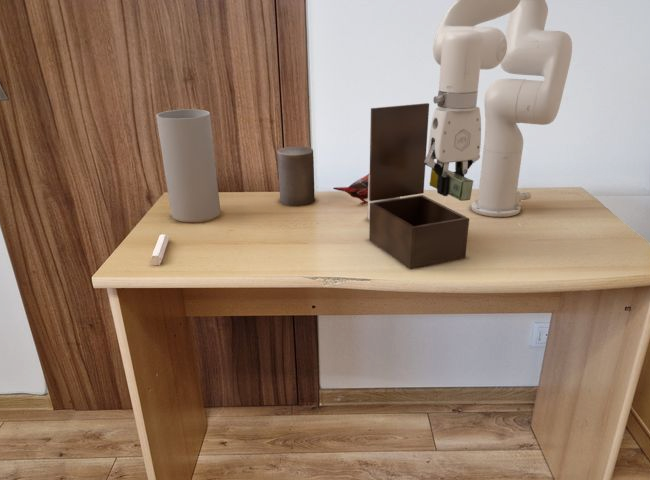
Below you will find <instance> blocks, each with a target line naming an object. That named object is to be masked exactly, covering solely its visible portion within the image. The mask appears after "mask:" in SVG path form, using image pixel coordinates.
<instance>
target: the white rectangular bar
mask: <svg viewBox="0 0 650 480" xmlns="http://www.w3.org/2000/svg"><path fill="white" fill-rule="evenodd" d="M168 242H169V237H168V235H167V234H166V233H165V234H163V233H162V234H159V237H158V239H157V241H156V244H155V247H154V249H153V252H152V254H151V257H150V260H149V262H150V263H151V264H152V265H153V266H160V265H161V264H162V261H163V258H164V255H165V251H166V249H167V246H168Z"/></svg>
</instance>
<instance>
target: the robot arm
mask: <svg viewBox="0 0 650 480" xmlns="http://www.w3.org/2000/svg"><path fill="white" fill-rule="evenodd" d="M508 14H509V16H508V22H507V26H506V30H505V33H504V32H503V31H502V30H501V29H499V28H497V27H491V26H490V27H489V26H478V25H480V24H483V23H486V22H489V21H493V20H496V19H499V18H501V17H503V16H506V15H508ZM548 15H549V6H548V3H547V1H546V0H456V1H455V2H454V3H453V4H452V5H451V6H450V7H449V8H448V9H447V11H446V13H444V16H443V18H442V20H441V22H440V24H439V27H438V29H437V31H436V34H435V37H434V42H433V45H432V46H433V47H432V54H433V58H434V61H435V62H436V63H437V64H438V65H439V66H440V68H439V81H438V83H439V84H438V92H437V95H435V96H434V97H433V99H432V100H433V103H434V104H435V105H436V104H437V107H435V108H434V111H433V115H432V120H431V124H430V130H429V136H428V145H427V147H428V148H427V149H428V150H427V152H428V153H427V154H426V159H425V161H424V164H425V166H427V167H429V168H431V170H432V169H433V170H434V171H435V173H436V174H437V175H438V179H437V189H436V190H437V191H436V192H437V194H438V195H441V196H443V197H447V196H449V195H448V190H449V177H448V176H447V174H448V170H449V166H450V164H451V163H454V165H455V167H454V170H455V171H453V172H454V173H456V174H459V175H461V176H463V177H465V176H466V175H467V174H468V171H469V170H470V168H471V166H472V165H473V164H475V163H476V162H477V161H478V160H480V159H481V167H480V178H479V186H478V195H477V200H474V201H473V202H472V203H471V204H470V206H471V207H470V209H471V211H473V212H474V213H476V214H479V215H482V216H486V217H494V218H505V217H506V218H507V217H512V216H516V215H518V214H519V213H521V208H522V206H521V205H520V204H519V203H520V202H521V201H527V200H530V199H531V198H532V193H531V192H529V191H525V192H520V191H519V190H518V186H519V180H520V179H519V178H520V171H521V165H522V159H523V158H522V157H523V149H524V138H523V134H522V132H521V129H520V127H519V126H518V124H527V125H528V124H529V125H539V126H545V125H550V124H551V123H553V122H554V121H555V119H556V118H557V116H558V113H559V111H560V107H561V103H562V99H563V94H564V90H565V87H566V82H567V78H568V73H569V70H570V65H571V60H572V54H573V41H572V38H571V36H570V34H568V33H567V32H565V31H563V30H562V31H561V30H545V27H546V22H547V17H548ZM499 65H500V67H501V69H502V71H504V72H505V73H508V74H510V75H511V74H512V75H518V76H534V77H535V76H536V77H544V79H543V80H536V79H535V80H533V79H525V78H500V79H497V80H494V81H492V82H491V83H490V84H489V85H488V87H487V88H486V90H485V94H484V101H483V102H484V119H485V120H484V123H485V124H484V126H485V127H484V138H483V149H482V158H481V154H480V153H481V144H482V116H481V109H480V108H481V107H479V106H477V104H478V103H477V102H478V92H479V91H478V90H479V83H480V71H481V70H493V69H495V68H497V67H498V66H499ZM435 160H436V161H435Z"/></svg>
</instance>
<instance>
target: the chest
mask: <svg viewBox="0 0 650 480" xmlns="http://www.w3.org/2000/svg"><path fill="white" fill-rule="evenodd" d="M469 225H470V218H469V217H467V216H465V215H463V214H462V213H460V212H457V211H456V210H454V209H452V208H450V207H448V206H446V205H443V204H442V203H440V202H437V201H435V200H434V199H432V198H429V197H427V196H425V195H423V194H419V195H412V196H405V197H400V198H399V199H393V200H386V201H379V202H372V203H370V221H369V234H368V235H369V238H368V239H369V242H371V243H372V244H374V245H375V246H377V247H378V248H379V249H381V250H382V251H384V252H385V253H387V254H388V255H389V256H391V257H392V258H393V259H395V260H396V261H398V262H399V263H401V264H402V265H403V266H405V267H406V268H408V269H409V270H413V269H417V268H422V267H427V266H432V265H439V264H442V263H443V264H444V263H449V262H453V261H454V262H455V261H458V260H462V259H466V256H467V247H468V245H467V244H468V235H469Z"/></svg>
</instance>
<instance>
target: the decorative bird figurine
mask: <svg viewBox="0 0 650 480" xmlns="http://www.w3.org/2000/svg"><path fill="white" fill-rule="evenodd" d="M369 174H370V172H369V173H368V174H366V175H365V176H363V177H361V178H359V179H357V180H356V181H354V182H353V183H351V184H350V185H349V186H346V187H345V186H344V187H343V186H340V187H339V186H338V187H333V188H332V189H333V190H335V191H340V192H345V193H347V194H348V195H349V196H351V197H352V198H356V199H358V200H360V201H361V202H360V203H359V206H360V205H362V206H363V205H368V180H369Z"/></svg>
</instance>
